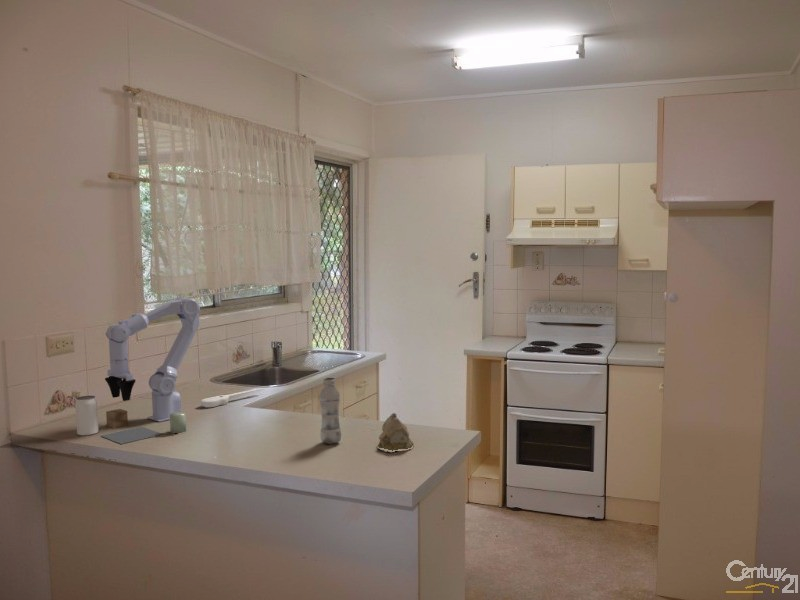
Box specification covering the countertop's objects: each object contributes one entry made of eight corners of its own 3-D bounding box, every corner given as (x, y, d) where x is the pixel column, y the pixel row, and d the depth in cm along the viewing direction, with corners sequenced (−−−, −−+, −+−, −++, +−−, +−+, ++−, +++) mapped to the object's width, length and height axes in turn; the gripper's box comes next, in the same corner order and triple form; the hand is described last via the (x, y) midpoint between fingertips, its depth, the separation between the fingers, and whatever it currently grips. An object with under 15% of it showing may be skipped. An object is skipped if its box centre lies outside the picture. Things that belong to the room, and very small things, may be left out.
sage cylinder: (181, 428, 230) (180, 411, 230) (189, 431, 227) (188, 413, 226) (167, 432, 226) (166, 414, 226) (175, 434, 223) (174, 416, 223)
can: (90, 436, 222) (88, 400, 221) (72, 435, 224) (70, 399, 223) (102, 431, 229) (100, 395, 228) (85, 430, 230) (83, 395, 229)
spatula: (256, 394, 281) (256, 387, 281) (265, 395, 277) (265, 388, 277) (197, 407, 260) (197, 399, 260) (206, 409, 256) (205, 401, 256)
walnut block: (120, 422, 239) (120, 408, 239) (127, 425, 236) (127, 411, 236) (106, 425, 236) (106, 411, 235) (113, 428, 232) (113, 413, 232)
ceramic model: (417, 451, 202) (417, 418, 201) (379, 454, 200) (379, 420, 199) (408, 438, 216) (407, 407, 215) (372, 440, 214) (372, 409, 213)
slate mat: (141, 427, 233) (141, 426, 233) (162, 434, 224) (162, 433, 224) (100, 436, 222) (100, 435, 222) (121, 444, 213) (121, 443, 213)
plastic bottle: (325, 447, 207) (323, 382, 205) (317, 441, 213) (315, 378, 211) (344, 444, 210) (343, 379, 208) (336, 438, 216) (335, 376, 214)
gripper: (97, 358, 235) (100, 397, 236) (117, 363, 225) (119, 404, 227) (118, 355, 240) (120, 394, 241) (137, 360, 230) (139, 400, 232)
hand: (121, 398), depth 234 cm, fingers open, 7 cm apart
